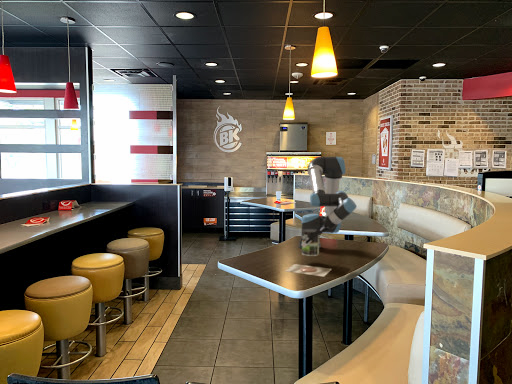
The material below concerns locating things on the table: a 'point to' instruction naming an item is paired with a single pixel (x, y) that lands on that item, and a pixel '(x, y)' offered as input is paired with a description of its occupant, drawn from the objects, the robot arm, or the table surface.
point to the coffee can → (313, 246)
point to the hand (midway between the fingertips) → (305, 244)
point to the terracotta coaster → (308, 269)
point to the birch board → (319, 272)
